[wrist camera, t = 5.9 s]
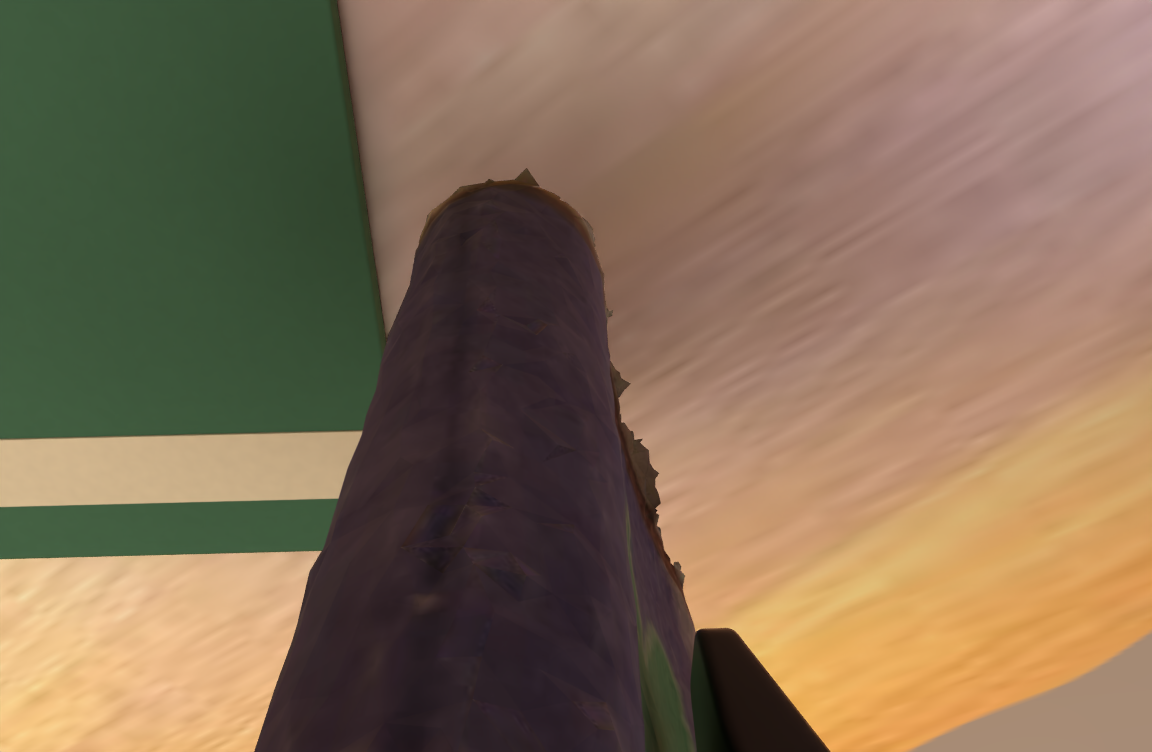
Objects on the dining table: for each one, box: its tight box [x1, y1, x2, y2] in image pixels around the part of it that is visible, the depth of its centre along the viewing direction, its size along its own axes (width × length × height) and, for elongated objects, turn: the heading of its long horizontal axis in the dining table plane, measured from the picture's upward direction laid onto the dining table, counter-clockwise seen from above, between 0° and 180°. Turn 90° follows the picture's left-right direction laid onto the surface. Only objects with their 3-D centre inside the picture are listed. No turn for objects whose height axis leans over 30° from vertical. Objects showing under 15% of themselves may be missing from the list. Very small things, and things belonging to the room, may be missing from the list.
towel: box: [0, 0, 386, 559], centre depth 17 cm, size 14×20×1 cm
